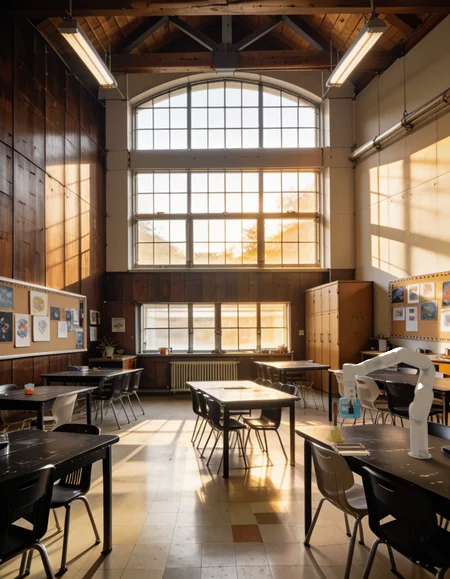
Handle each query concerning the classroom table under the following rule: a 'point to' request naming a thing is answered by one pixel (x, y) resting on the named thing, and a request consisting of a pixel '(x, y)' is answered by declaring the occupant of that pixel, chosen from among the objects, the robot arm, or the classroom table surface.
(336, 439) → the handbell
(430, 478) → the classroom table surface
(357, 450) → the jig
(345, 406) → the data package
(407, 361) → the robot arm
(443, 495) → the classroom table surface
